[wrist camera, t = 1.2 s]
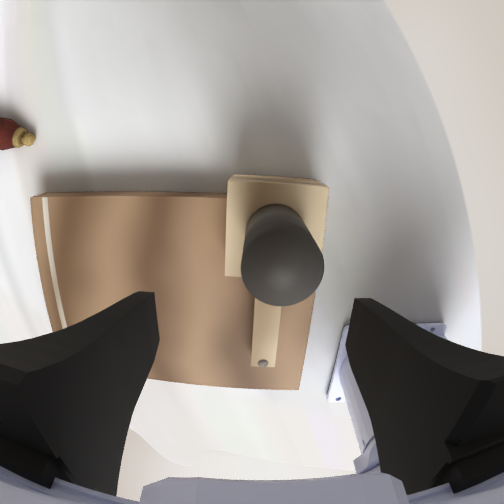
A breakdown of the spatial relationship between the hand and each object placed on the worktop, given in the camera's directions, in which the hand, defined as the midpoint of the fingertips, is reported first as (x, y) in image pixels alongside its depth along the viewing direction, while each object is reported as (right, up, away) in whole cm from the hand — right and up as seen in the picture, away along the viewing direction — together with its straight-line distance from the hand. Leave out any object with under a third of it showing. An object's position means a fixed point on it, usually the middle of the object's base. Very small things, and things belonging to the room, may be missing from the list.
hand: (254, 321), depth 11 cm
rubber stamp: (+1, +1, +10) cm, 10 cm away
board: (-6, 0, +11) cm, 13 cm away
